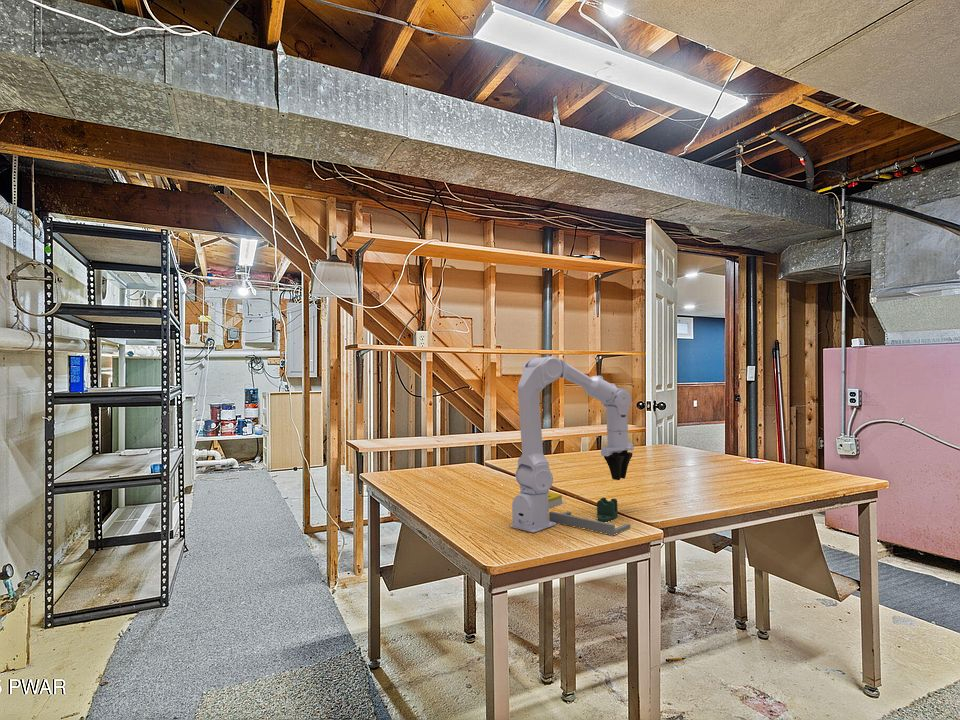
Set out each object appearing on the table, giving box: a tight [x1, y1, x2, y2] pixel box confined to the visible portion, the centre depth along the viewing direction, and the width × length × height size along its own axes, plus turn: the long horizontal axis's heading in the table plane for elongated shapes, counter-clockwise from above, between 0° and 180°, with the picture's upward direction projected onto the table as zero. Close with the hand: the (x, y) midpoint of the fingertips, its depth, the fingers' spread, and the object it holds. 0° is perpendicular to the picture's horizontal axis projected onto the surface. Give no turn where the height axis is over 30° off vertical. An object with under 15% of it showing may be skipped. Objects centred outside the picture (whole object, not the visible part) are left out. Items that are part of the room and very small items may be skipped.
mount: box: [596, 497, 619, 523], centre depth 139 cm, size 11×4×5 cm, turn 151°
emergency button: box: [548, 492, 567, 509], centre depth 154 cm, size 9×4×15 cm
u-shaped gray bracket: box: [549, 511, 631, 536], centre depth 133 cm, size 8×19×2 cm, turn 45°
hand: (618, 478), depth 144 cm, fingers open, 2 cm apart
